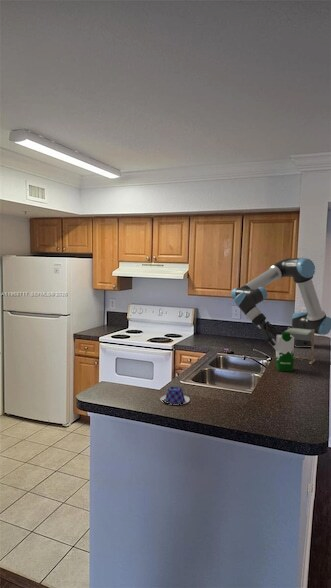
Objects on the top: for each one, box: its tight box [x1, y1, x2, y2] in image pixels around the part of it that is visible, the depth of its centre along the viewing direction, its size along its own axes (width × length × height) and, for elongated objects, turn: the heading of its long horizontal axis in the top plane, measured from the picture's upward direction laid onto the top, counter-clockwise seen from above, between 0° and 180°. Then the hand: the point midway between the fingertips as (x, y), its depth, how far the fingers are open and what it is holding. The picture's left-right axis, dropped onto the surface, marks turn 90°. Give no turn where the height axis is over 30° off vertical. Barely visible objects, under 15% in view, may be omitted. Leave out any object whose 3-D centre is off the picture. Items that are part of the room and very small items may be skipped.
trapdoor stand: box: [287, 326, 316, 365], centre depth 216 cm, size 10×15×19 cm
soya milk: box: [275, 331, 295, 372], centre depth 197 cm, size 9×9×20 cm
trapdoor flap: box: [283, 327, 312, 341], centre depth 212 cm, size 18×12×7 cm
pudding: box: [159, 386, 191, 405], centre depth 152 cm, size 12×12×5 cm
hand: (283, 347), depth 197 cm, fingers open, 13 cm apart
